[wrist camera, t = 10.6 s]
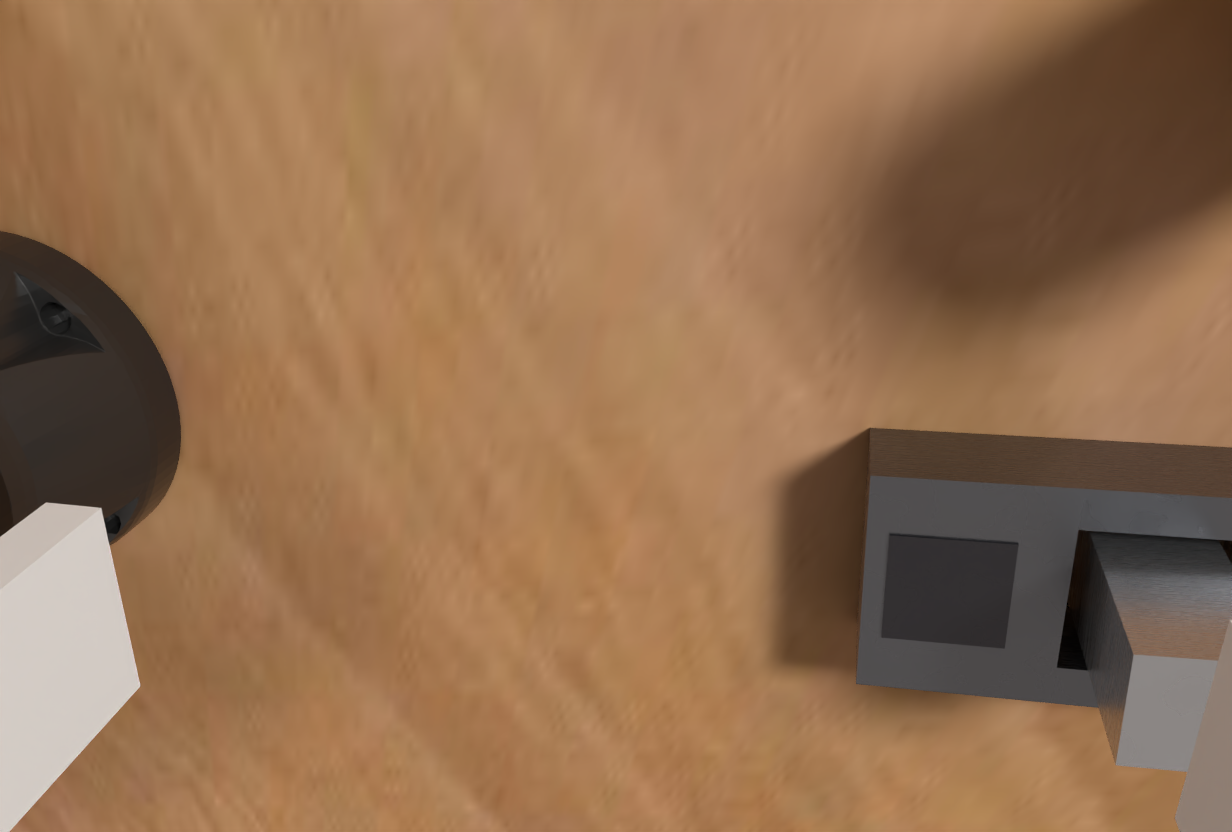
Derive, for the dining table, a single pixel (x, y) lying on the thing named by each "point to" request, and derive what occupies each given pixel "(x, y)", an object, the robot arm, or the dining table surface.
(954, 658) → the grey slotted base plate
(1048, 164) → the dining table surface
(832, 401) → the dining table surface
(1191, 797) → the robot arm
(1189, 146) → the dining table surface
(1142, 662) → the light grey rectangular block
